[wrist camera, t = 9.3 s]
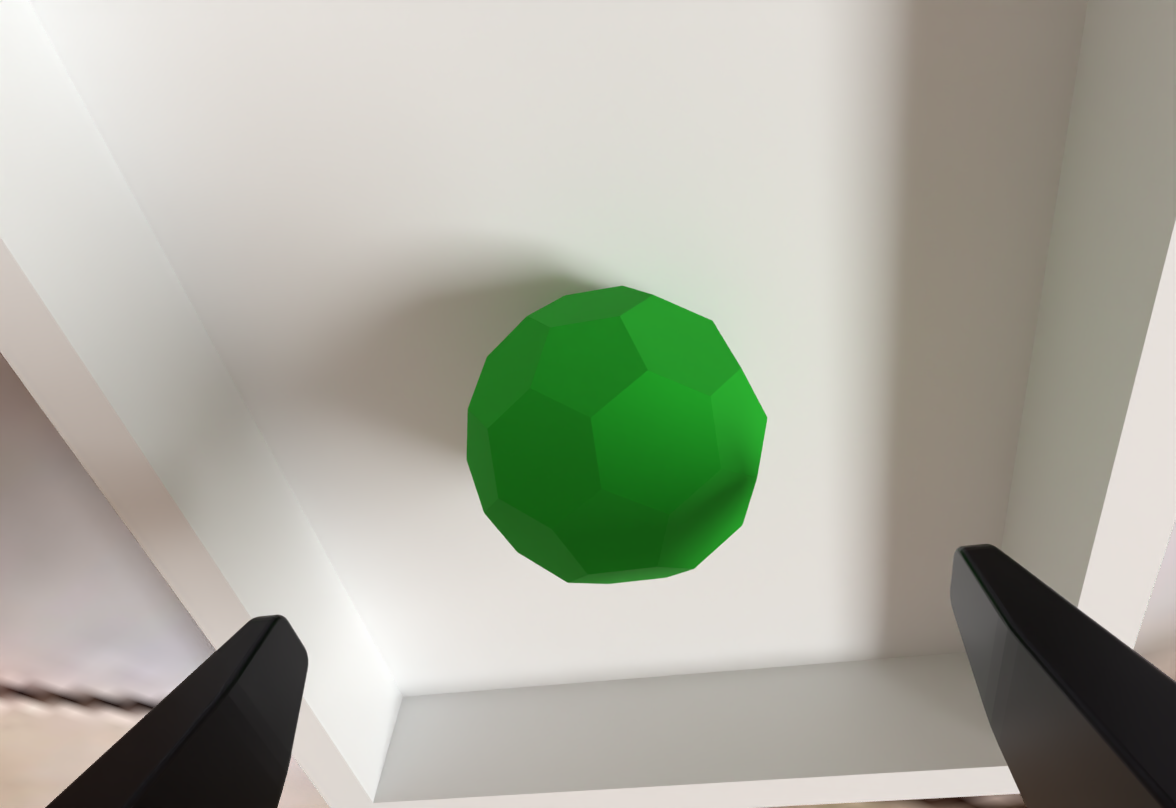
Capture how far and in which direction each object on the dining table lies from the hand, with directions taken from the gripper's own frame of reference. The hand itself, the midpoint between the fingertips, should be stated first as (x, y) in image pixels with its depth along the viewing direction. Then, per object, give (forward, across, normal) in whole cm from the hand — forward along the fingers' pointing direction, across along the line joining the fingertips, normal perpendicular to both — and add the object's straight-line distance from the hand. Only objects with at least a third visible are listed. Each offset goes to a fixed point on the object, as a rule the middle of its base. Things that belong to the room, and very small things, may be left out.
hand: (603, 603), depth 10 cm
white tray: (+7, 0, 0) cm, 7 cm away
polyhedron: (+6, 0, 0) cm, 6 cm away
